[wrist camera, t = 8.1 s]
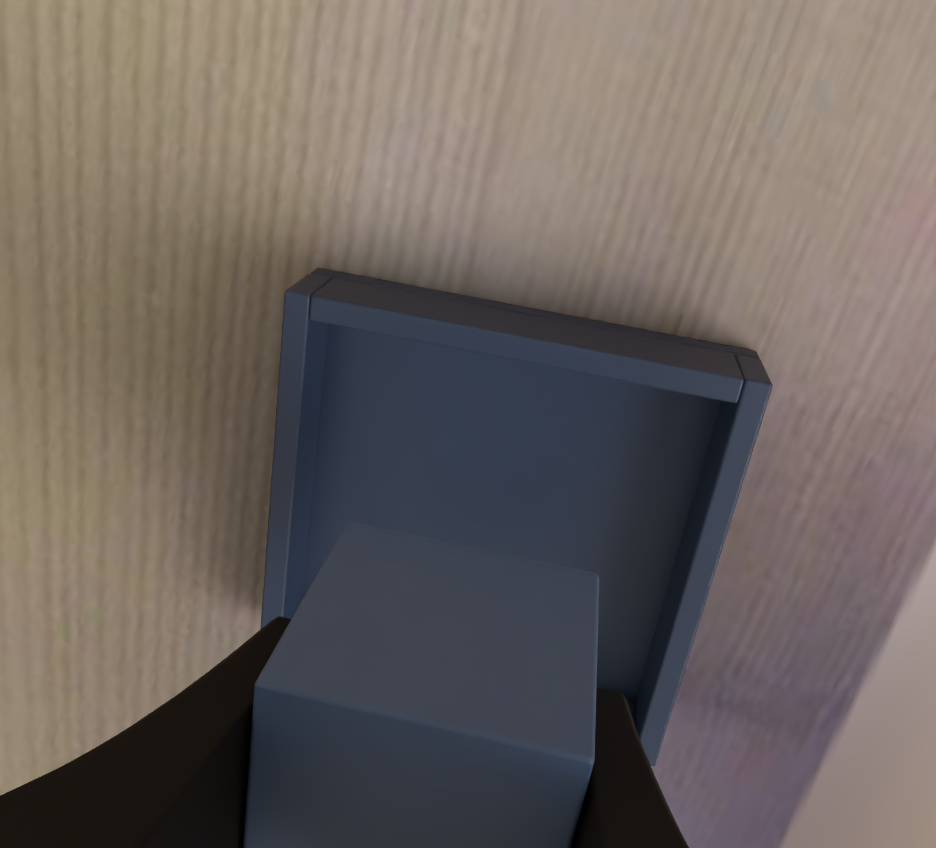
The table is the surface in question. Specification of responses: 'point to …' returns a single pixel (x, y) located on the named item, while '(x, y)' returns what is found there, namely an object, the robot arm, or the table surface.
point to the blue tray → (515, 454)
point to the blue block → (427, 701)
